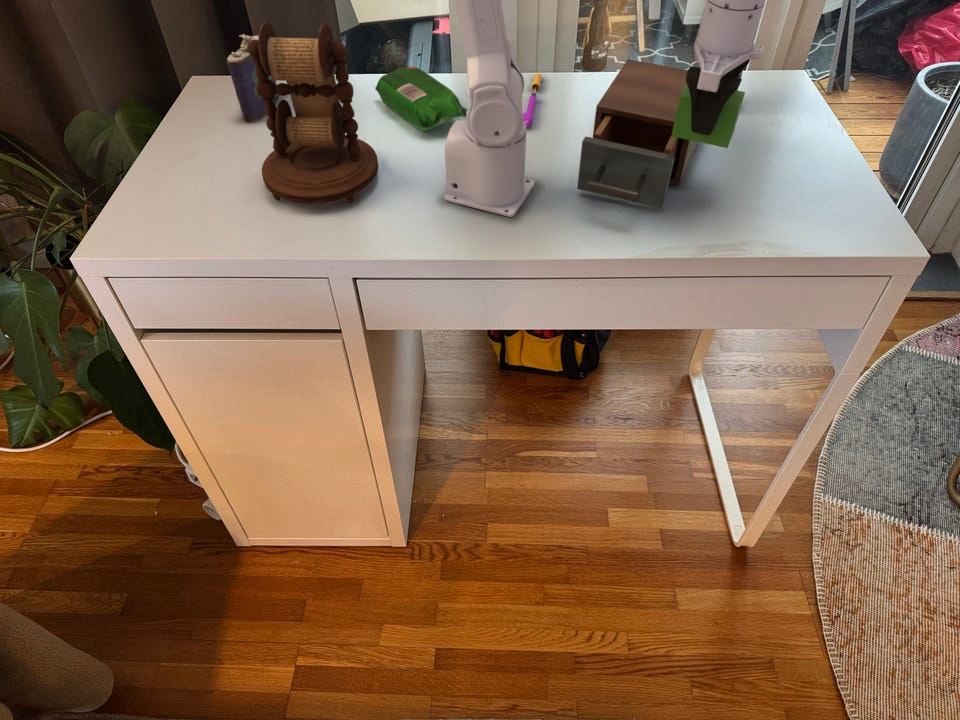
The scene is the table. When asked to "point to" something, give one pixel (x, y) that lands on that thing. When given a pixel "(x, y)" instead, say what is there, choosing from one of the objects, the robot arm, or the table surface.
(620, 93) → the cabinet
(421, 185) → the table surface
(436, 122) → the snack package
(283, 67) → the scroll
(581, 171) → the drawer
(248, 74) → the flask
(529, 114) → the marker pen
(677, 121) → the green rectangular box
